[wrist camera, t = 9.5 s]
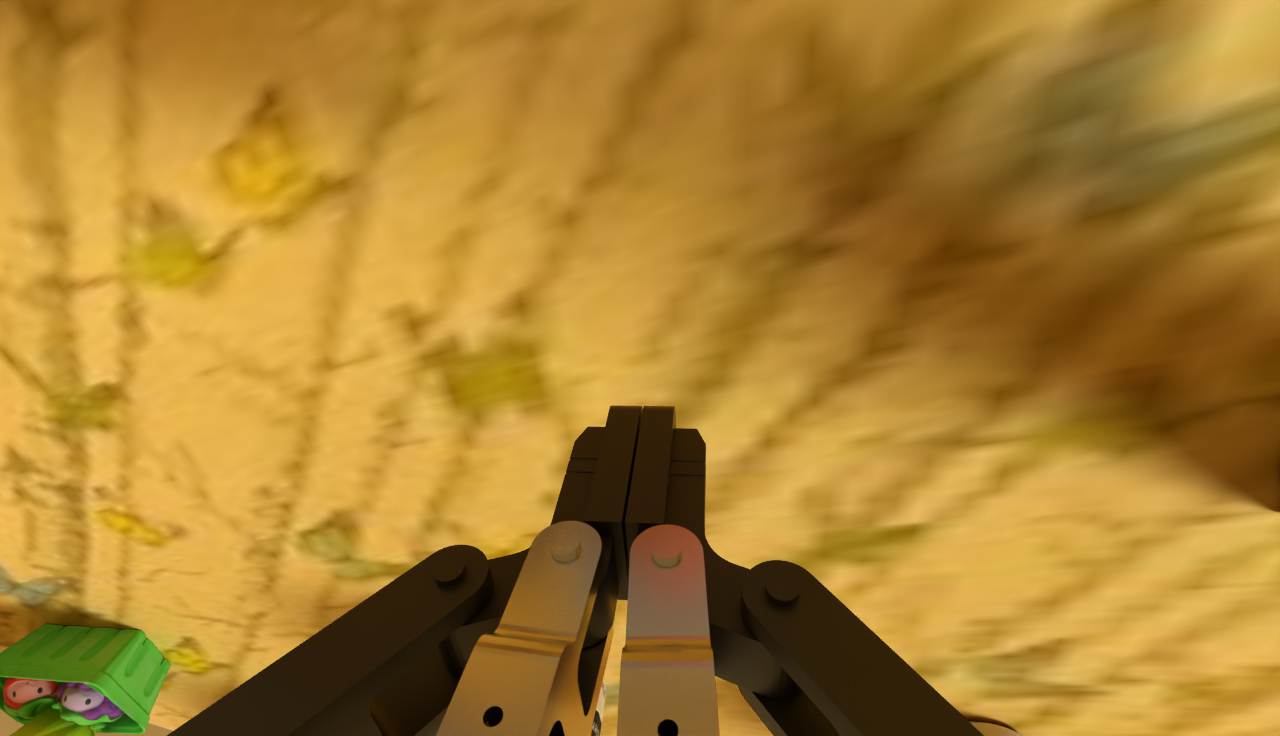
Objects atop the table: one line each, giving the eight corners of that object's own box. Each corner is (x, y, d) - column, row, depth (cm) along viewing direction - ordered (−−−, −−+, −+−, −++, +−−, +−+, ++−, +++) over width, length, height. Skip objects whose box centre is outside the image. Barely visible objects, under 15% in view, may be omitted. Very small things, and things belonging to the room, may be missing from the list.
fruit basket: (148, 620, 48) (11, 780, 38) (199, 681, 53) (88, 836, 43) (21, 611, 49) (-141, 764, 40) (83, 672, 54) (-49, 821, 45)
